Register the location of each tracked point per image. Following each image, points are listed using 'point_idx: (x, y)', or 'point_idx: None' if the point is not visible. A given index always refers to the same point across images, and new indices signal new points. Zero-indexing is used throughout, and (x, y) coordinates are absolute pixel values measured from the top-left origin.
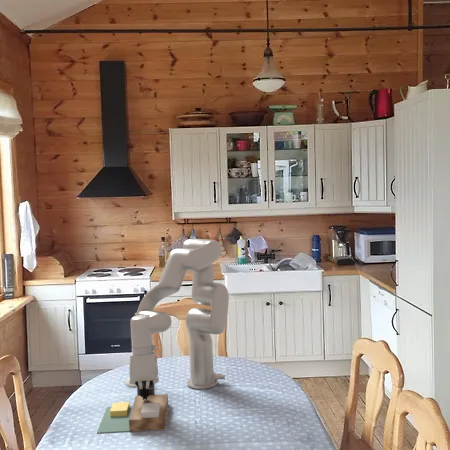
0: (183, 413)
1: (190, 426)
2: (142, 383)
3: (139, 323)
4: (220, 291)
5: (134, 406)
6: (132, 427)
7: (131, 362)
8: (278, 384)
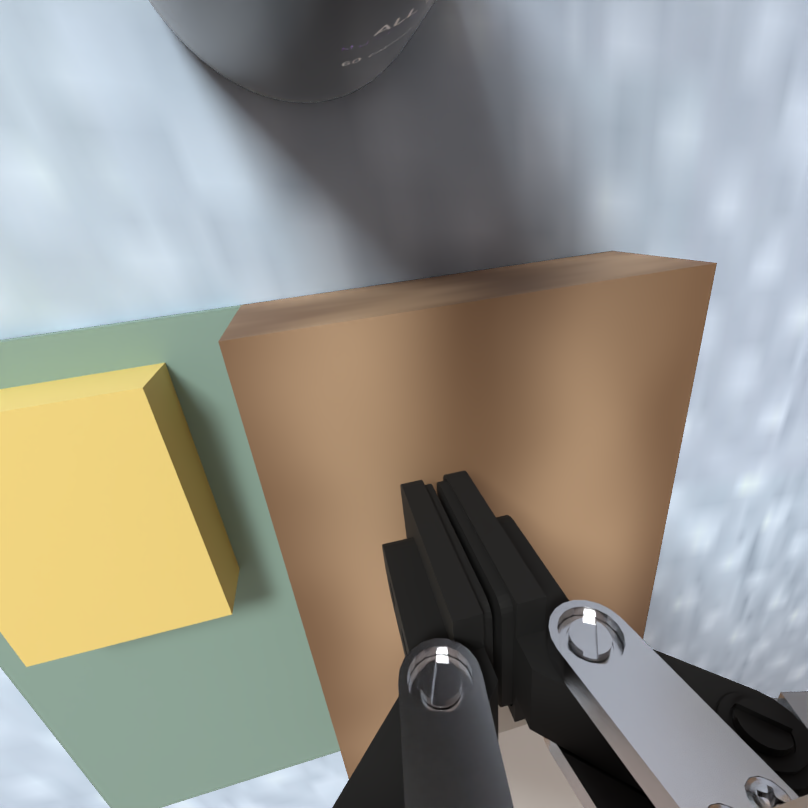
0: (709, 448)
1: (710, 611)
2: (489, 751)
3: None
4: None
5: (333, 658)
6: None
7: None
8: None
